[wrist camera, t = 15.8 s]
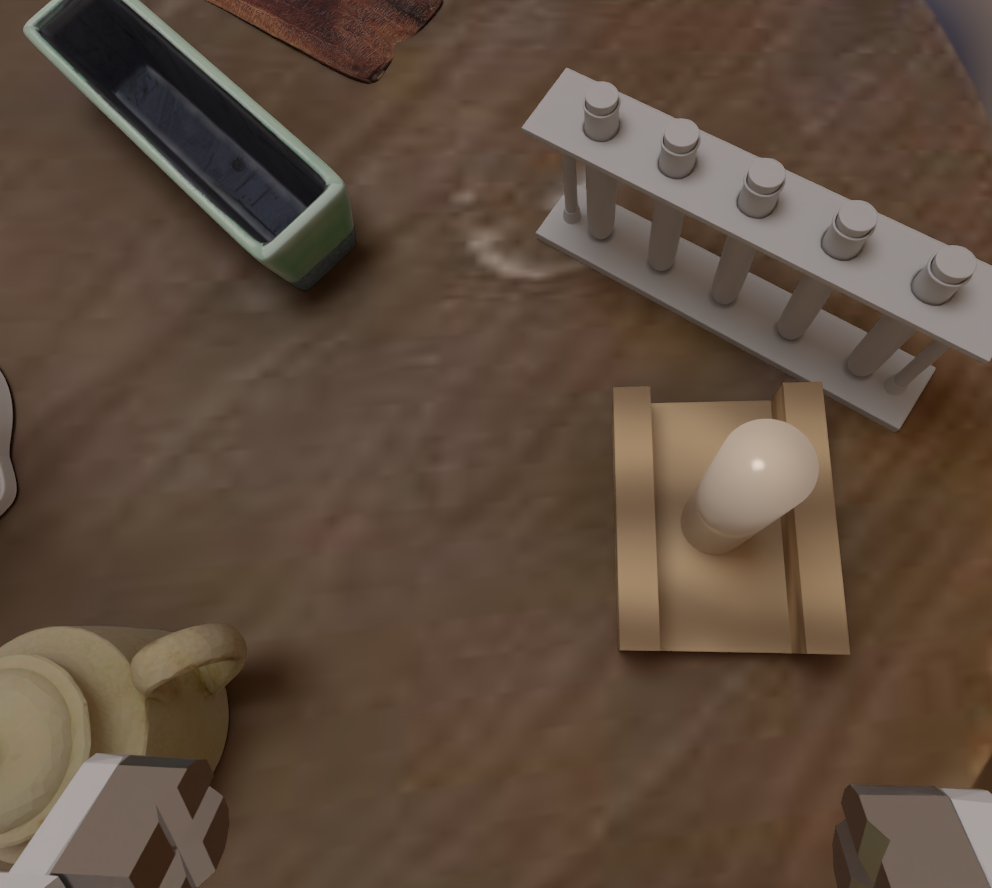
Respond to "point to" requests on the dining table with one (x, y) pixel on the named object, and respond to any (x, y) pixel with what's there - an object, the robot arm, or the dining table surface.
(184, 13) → the dining table surface
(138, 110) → the planter
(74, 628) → the sugar bowl
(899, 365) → the test tube rack
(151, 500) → the dining table surface
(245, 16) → the wooden tablet
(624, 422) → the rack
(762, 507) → the clay rod
